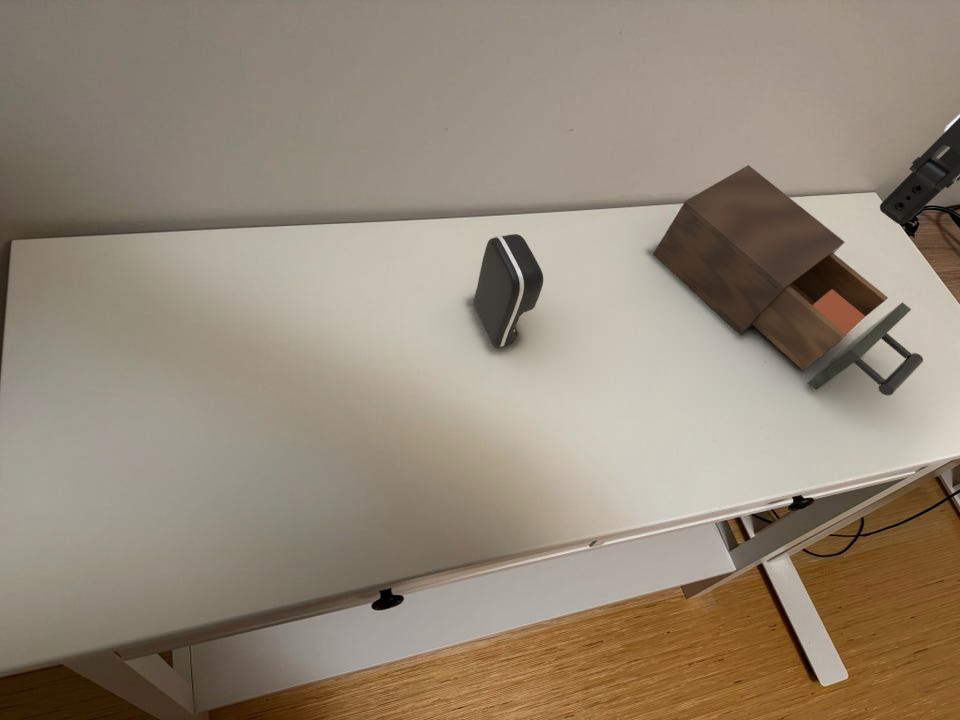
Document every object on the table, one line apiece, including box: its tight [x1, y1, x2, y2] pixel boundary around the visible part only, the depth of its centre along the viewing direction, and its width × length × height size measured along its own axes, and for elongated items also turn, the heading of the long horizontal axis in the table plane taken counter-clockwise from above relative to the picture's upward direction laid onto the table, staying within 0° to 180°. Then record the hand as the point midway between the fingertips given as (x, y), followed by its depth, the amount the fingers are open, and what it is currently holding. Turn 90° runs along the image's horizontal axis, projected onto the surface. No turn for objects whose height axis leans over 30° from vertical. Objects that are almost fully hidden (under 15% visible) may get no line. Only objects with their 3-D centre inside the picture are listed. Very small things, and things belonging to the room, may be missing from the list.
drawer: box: [752, 253, 924, 396], centre depth 67 cm, size 18×11×7 cm, turn 39°
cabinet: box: [652, 164, 845, 335], centre depth 71 cm, size 15×13×9 cm
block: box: [812, 289, 866, 335], centre depth 67 cm, size 5×5×5 cm
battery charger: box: [473, 233, 544, 348], centre depth 60 cm, size 7×4×11 cm, turn 22°
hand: (917, 195), depth 45 cm, fingers open, 8 cm apart
